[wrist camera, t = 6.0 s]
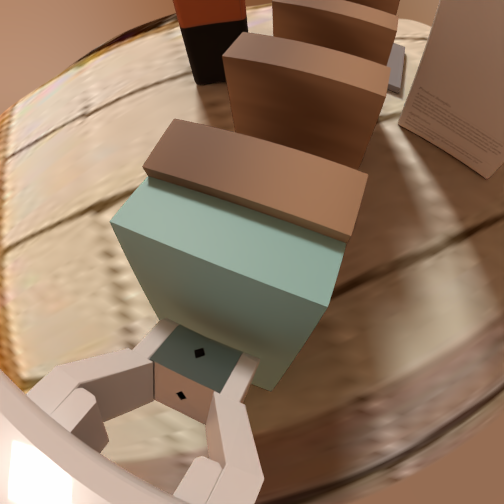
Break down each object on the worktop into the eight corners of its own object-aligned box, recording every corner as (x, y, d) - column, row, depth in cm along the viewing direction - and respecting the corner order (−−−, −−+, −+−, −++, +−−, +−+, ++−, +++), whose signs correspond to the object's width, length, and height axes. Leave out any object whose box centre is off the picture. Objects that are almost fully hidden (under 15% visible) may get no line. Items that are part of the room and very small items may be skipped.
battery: (195, 88, 21) (164, -25, 12) (198, 43, 23) (177, -49, 14) (252, 81, 21) (241, -37, 12) (247, 37, 23) (236, -58, 14)
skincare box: (494, 133, 19) (578, 0, 4) (486, 187, 17) (609, 33, 2) (411, 81, 21) (461, -77, 6) (389, 125, 19) (457, -78, 4)
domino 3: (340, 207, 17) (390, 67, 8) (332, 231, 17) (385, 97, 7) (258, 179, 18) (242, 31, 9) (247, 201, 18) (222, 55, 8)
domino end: (283, 362, 15) (346, 243, 7) (271, 391, 14) (327, 307, 6) (191, 324, 16) (147, 175, 7) (177, 351, 15) (109, 221, 7)
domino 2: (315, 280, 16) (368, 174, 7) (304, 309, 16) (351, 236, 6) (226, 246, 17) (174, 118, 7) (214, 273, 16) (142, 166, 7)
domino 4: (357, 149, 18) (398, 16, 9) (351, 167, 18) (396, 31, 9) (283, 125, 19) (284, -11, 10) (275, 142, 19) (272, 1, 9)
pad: (403, 51, 22) (404, 47, 21) (398, 93, 20) (400, 88, 19) (311, 24, 23) (311, 19, 23) (289, 60, 22) (289, 54, 21)
